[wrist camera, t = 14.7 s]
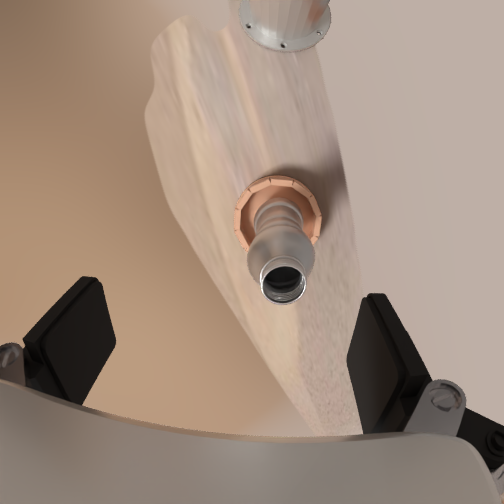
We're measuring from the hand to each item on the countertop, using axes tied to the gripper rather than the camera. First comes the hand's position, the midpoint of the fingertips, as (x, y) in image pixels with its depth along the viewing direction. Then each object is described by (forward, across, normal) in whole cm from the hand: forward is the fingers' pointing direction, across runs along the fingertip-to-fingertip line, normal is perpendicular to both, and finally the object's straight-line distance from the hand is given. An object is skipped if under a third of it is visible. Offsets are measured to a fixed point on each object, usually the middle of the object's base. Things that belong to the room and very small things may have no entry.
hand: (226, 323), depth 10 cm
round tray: (+34, -3, +6) cm, 34 cm away
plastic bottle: (+33, -3, +6) cm, 33 cm away
